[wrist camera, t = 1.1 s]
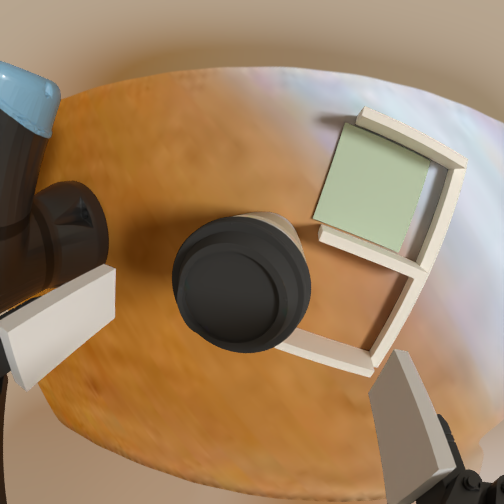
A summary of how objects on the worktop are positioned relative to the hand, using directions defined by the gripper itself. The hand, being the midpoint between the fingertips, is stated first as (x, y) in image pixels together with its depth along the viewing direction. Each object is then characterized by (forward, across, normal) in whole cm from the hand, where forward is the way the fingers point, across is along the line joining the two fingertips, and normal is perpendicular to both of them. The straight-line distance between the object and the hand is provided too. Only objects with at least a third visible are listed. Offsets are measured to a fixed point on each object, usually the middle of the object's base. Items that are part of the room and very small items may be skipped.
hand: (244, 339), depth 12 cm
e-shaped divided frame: (+19, +10, +2) cm, 21 cm away
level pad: (+19, +8, +8) cm, 22 cm away
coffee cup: (+19, -1, -1) cm, 19 cm away
